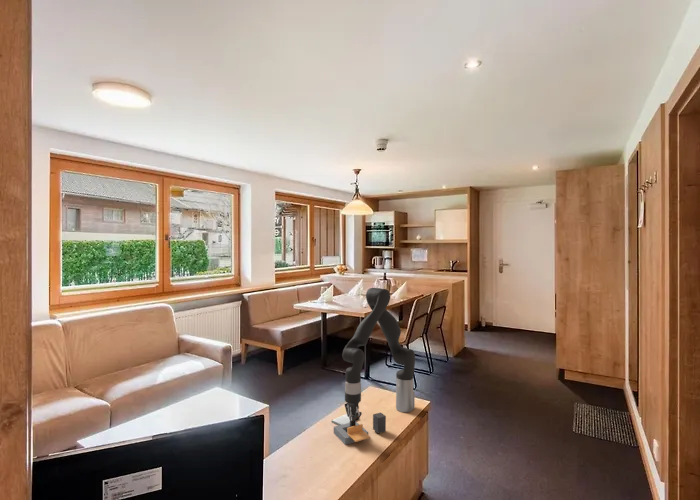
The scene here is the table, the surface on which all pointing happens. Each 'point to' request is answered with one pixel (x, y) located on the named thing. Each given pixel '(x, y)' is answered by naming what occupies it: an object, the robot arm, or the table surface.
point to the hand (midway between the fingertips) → (352, 427)
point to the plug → (379, 422)
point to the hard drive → (341, 420)
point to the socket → (344, 433)
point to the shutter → (357, 433)
